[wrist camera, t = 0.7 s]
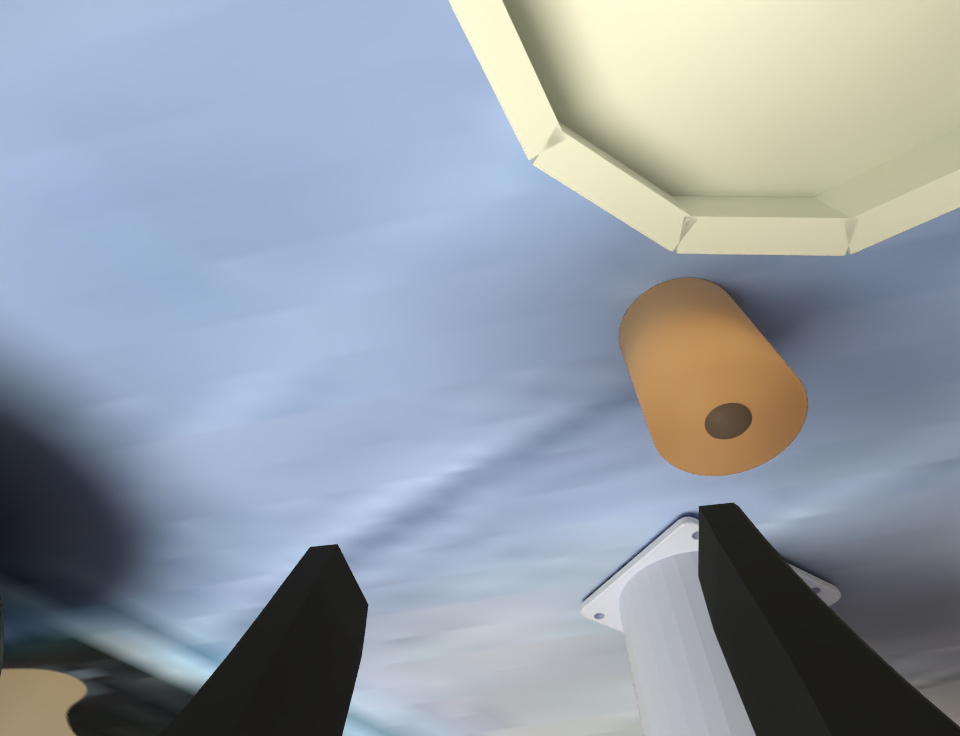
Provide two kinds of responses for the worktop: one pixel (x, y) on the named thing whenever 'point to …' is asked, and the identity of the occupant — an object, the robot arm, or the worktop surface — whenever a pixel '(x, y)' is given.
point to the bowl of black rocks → (1, 635)
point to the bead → (708, 379)
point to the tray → (736, 114)
